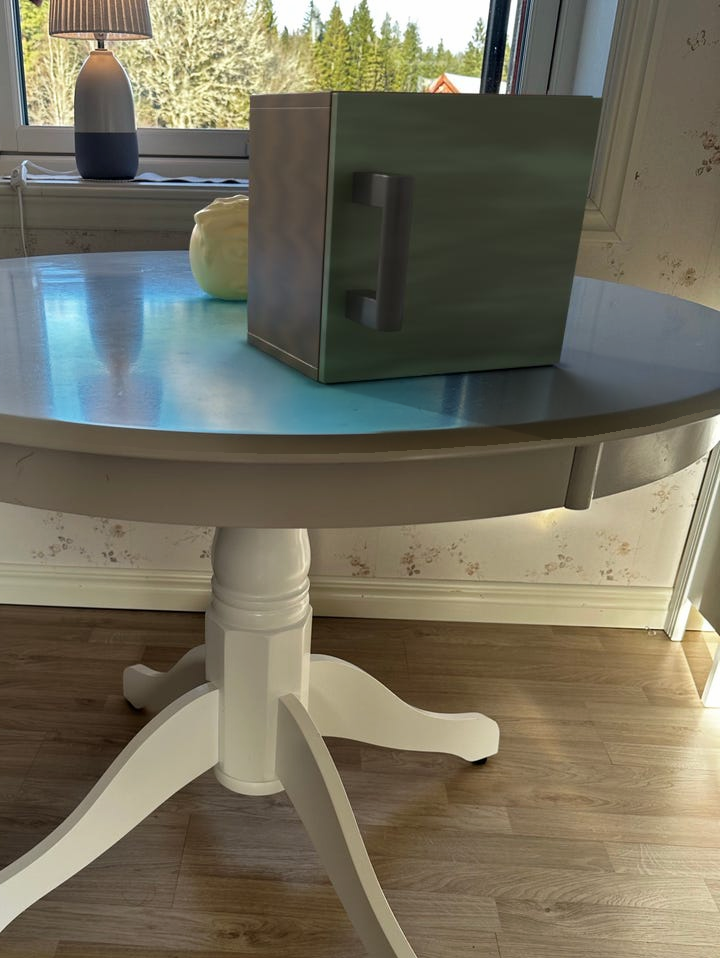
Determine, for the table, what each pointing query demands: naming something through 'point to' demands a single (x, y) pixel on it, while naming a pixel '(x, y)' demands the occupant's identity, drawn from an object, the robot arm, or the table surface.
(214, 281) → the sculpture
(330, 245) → the cupboard door
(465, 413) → the table surface
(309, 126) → the cupboard
